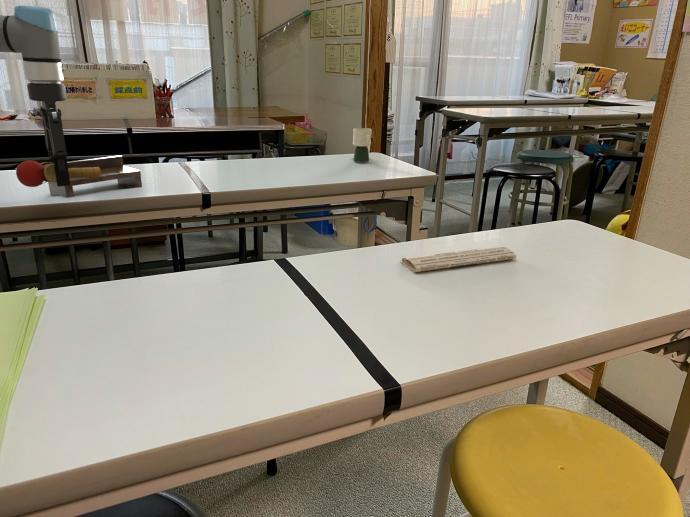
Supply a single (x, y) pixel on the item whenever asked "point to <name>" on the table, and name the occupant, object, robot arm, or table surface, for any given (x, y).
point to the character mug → (361, 143)
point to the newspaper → (458, 258)
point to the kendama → (49, 173)
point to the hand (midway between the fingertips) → (61, 181)
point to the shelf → (109, 171)
